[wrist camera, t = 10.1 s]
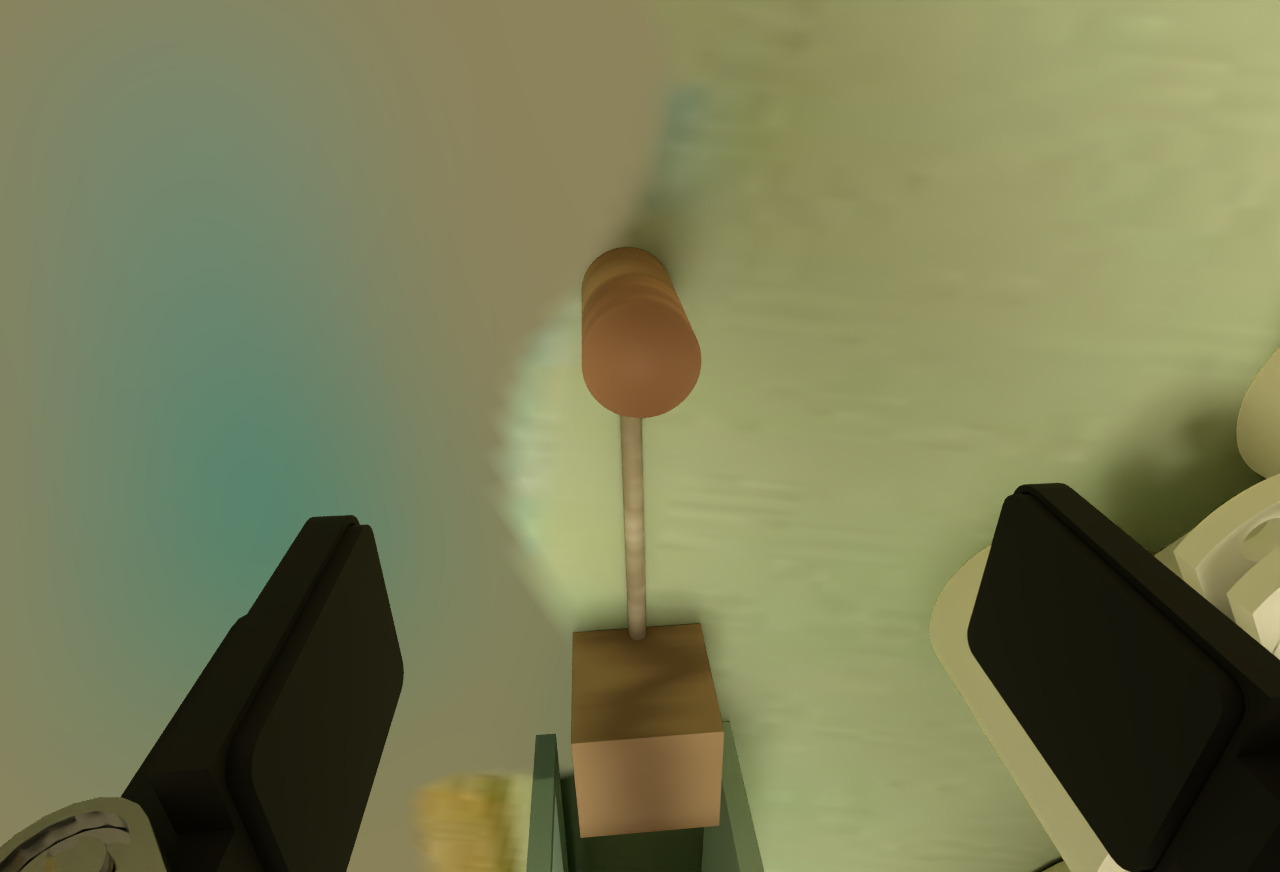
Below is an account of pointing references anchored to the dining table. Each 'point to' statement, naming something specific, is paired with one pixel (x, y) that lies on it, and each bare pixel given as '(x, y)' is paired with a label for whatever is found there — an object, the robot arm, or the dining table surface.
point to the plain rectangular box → (726, 847)
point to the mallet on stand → (641, 585)
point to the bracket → (1204, 558)
